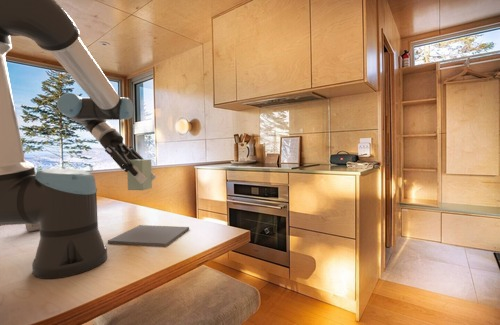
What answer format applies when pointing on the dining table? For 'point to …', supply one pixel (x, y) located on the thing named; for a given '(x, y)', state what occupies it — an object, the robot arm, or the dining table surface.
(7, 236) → the dining table surface
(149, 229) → the mat
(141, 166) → the sage block
